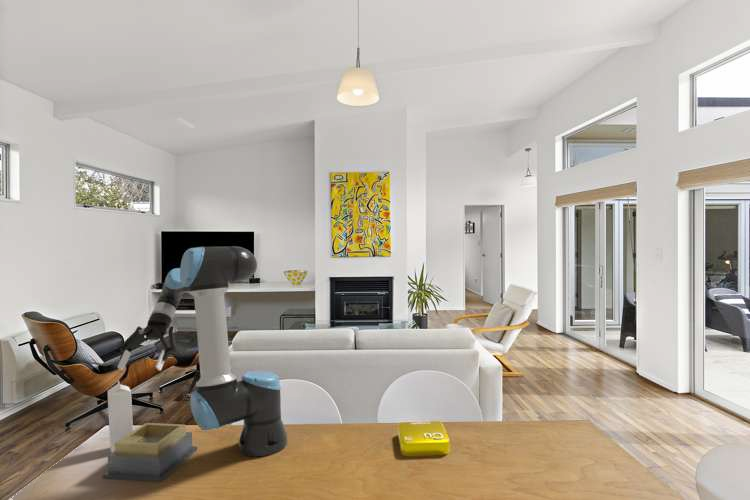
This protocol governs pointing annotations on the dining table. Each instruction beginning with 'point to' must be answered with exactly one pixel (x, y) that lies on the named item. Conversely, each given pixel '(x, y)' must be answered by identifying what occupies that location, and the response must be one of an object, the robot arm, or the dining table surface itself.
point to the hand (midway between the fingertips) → (139, 368)
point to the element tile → (423, 438)
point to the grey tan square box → (150, 452)
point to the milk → (119, 413)
